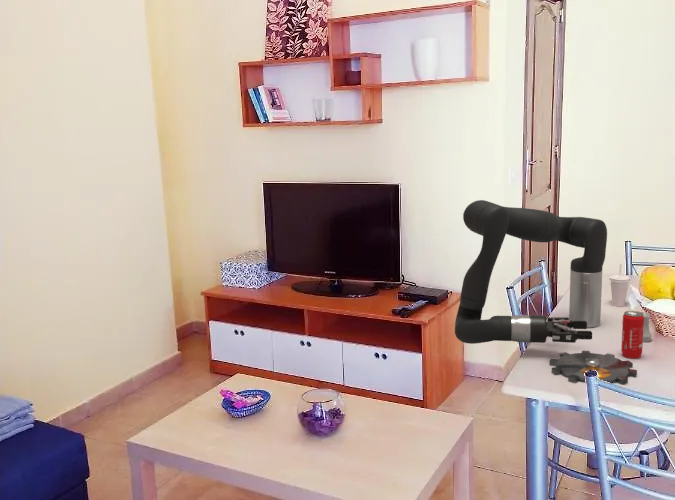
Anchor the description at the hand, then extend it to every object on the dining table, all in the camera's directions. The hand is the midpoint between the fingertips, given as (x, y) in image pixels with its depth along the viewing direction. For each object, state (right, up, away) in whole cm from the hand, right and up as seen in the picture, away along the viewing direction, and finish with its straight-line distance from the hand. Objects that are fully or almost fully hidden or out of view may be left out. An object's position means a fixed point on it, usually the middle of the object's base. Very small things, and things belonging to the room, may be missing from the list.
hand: (589, 330), depth 186 cm
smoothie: (+26, +3, +43) cm, 51 cm away
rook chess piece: (+20, -4, +11) cm, 23 cm away
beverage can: (+11, -7, -1) cm, 13 cm away
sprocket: (-3, -9, -9) cm, 13 cm away
